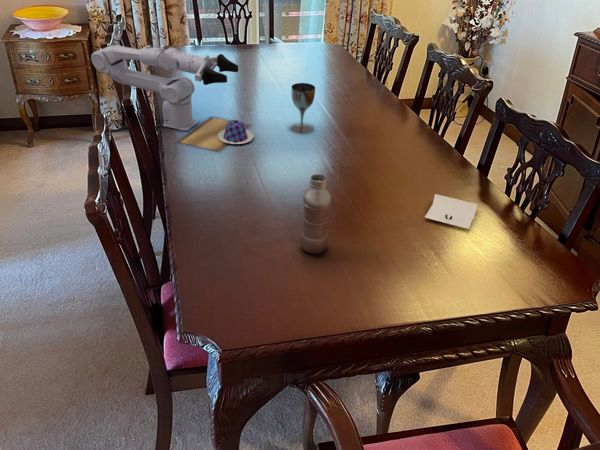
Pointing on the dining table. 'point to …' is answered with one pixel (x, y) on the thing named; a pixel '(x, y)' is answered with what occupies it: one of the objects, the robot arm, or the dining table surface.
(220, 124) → the placemat
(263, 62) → the dining table surface
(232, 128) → the pudding
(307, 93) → the wine glass
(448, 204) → the folded paper
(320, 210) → the plastic bottle
